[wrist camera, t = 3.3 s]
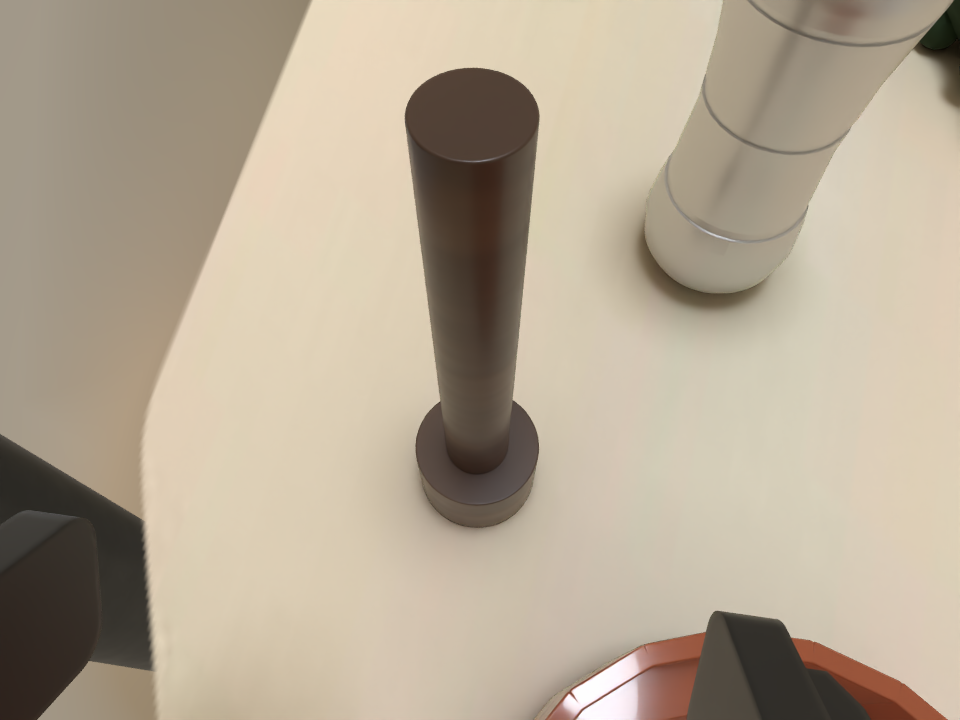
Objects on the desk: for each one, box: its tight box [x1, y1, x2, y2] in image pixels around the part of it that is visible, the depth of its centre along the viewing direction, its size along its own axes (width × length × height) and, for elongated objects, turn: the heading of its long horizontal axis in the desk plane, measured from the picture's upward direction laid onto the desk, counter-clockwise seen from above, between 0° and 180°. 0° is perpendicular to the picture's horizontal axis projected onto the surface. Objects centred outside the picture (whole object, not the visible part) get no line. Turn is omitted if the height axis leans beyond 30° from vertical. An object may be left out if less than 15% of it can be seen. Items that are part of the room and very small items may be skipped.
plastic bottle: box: [644, 0, 954, 294], centre depth 23 cm, size 6×7×20 cm
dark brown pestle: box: [405, 68, 539, 527], centre depth 19 cm, size 4×4×18 cm
